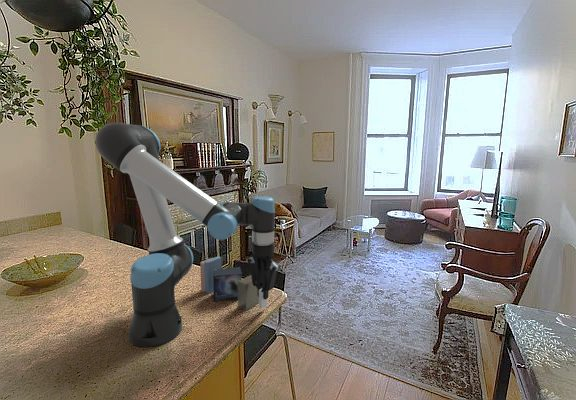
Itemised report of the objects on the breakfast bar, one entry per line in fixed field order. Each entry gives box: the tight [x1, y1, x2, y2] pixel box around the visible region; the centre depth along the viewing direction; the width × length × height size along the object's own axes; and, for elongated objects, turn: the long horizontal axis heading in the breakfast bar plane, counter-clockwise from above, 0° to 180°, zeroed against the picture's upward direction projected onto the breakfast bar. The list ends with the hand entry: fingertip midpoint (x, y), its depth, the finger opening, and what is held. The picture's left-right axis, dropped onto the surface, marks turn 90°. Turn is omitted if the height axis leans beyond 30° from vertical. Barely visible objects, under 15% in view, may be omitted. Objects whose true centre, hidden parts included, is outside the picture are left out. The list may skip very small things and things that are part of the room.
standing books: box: [199, 256, 223, 295], centre depth 119 cm, size 7×5×13 cm, turn 145°
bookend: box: [237, 274, 259, 312], centre depth 107 cm, size 7×4×10 cm, turn 145°
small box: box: [212, 266, 243, 302], centre depth 114 cm, size 11×6×10 cm, turn 105°
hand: (262, 306), depth 104 cm, fingers closed
